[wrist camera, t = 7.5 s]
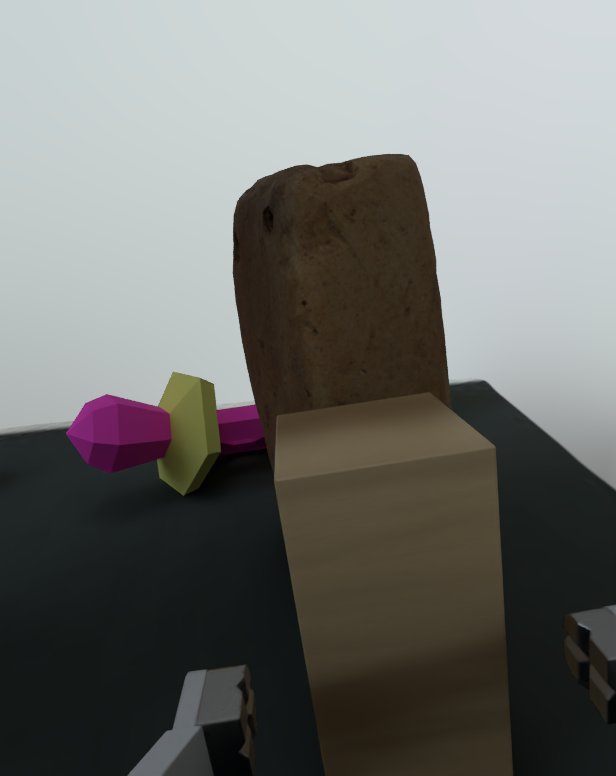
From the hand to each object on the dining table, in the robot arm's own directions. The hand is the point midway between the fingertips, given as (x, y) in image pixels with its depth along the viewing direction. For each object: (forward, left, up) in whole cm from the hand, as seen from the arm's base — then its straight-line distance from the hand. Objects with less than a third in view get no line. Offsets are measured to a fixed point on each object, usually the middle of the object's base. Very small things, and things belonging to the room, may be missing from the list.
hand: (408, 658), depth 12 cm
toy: (-3, +30, -6) cm, 31 cm away
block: (+4, +13, -6) cm, 15 cm away
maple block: (+1, +3, -6) cm, 7 cm away
